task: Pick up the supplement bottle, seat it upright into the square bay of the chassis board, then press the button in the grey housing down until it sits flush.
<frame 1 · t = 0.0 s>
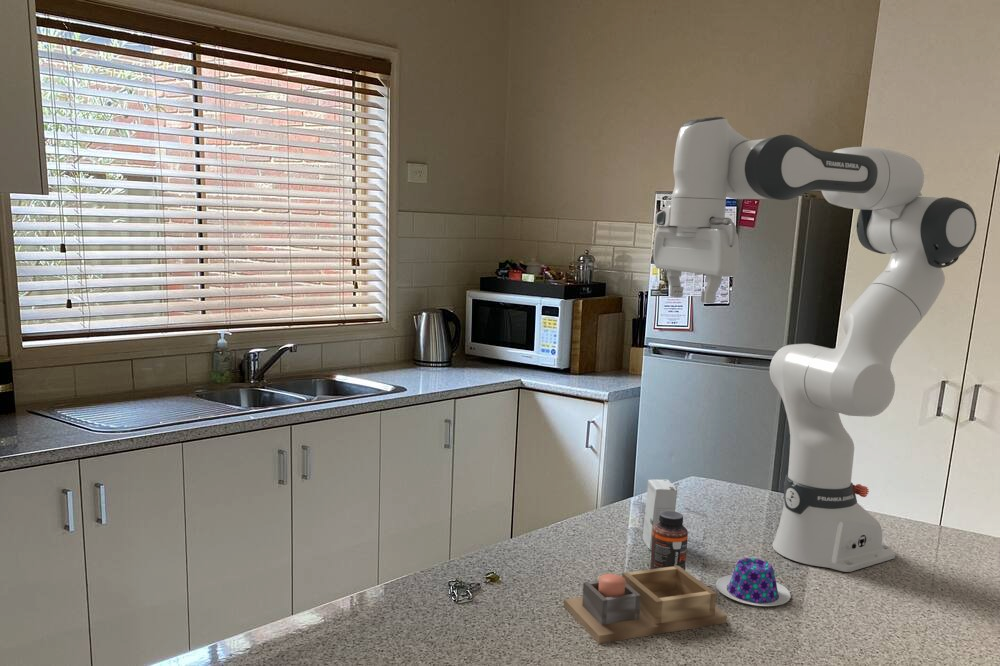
hand: (691, 299, 139), 48 cm above the countertop, tool pointing down, fingers open, 8 cm apart
pudding: (752, 594, 139), on the countertop
supplement bottle: (666, 578, 143), on the countertop
skincare box: (657, 546, 157), on the countertop
button: (611, 589, 126), point 5 cm above the countertop, slide at 0.0 cm
chassis: (644, 614, 129), on the countertop
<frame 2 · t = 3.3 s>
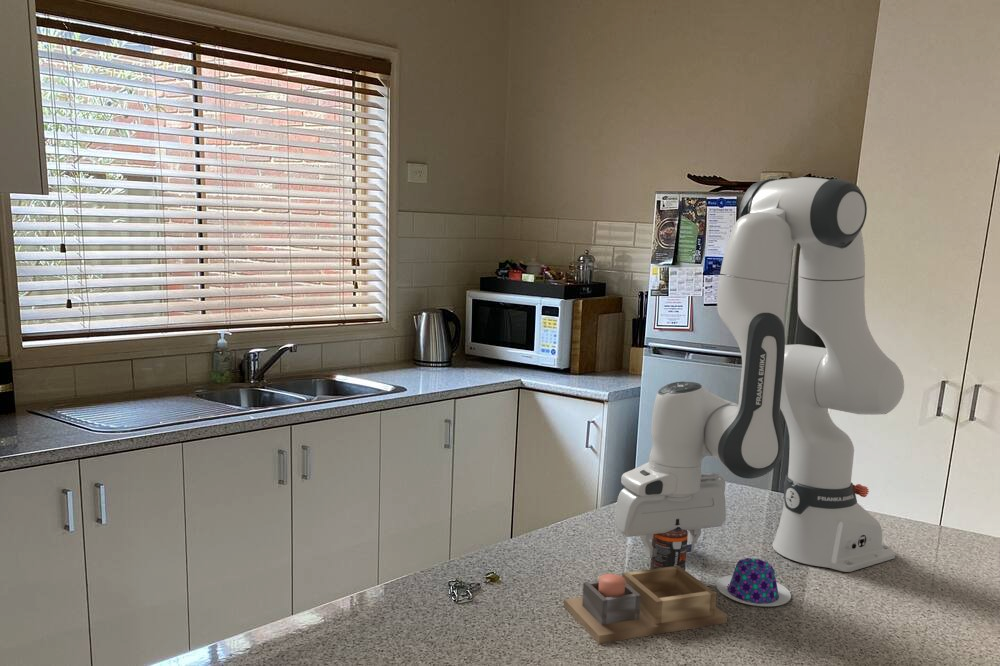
hand: (668, 554, 142), 4 cm above the countertop, tool pointing down, fingers closed on supplement bottle, 6 cm apart
supplement bottle: (666, 578, 143), on the countertop, touching gripper
everything else where it was.
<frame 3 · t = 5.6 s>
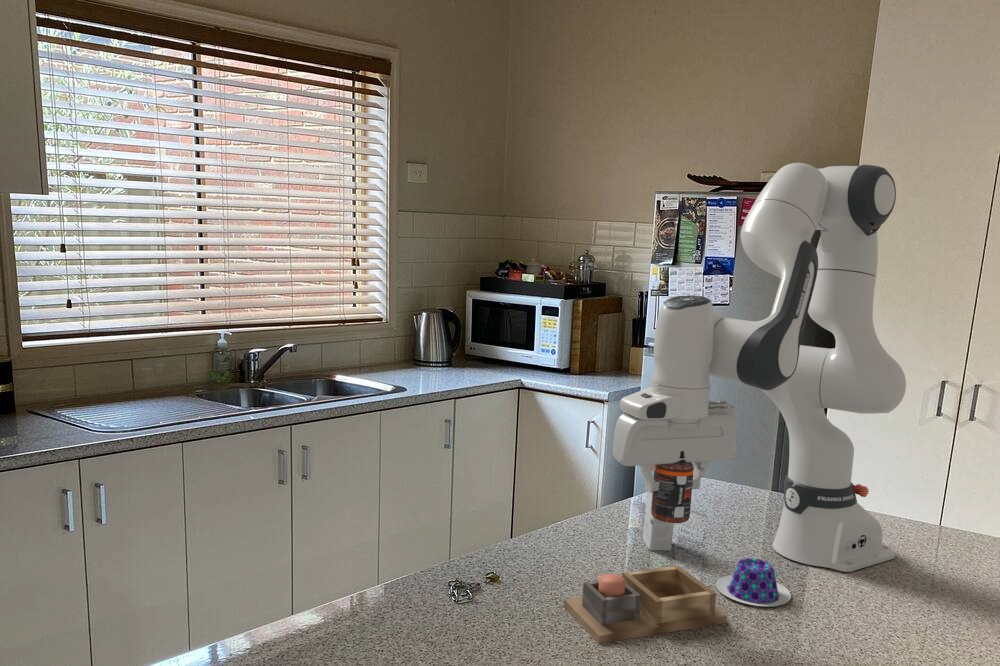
hand: (672, 489, 128), 20 cm above the countertop, tool pointing down, fingers closed on supplement bottle, 6 cm apart
supplement bottle: (669, 519, 129), point 15 cm above the countertop, touching gripper
everything else where it was.
when the fingers open (7 cm above the countertop, at t = 8.1 s): supplement bottle stays where it is, resting on chassis.
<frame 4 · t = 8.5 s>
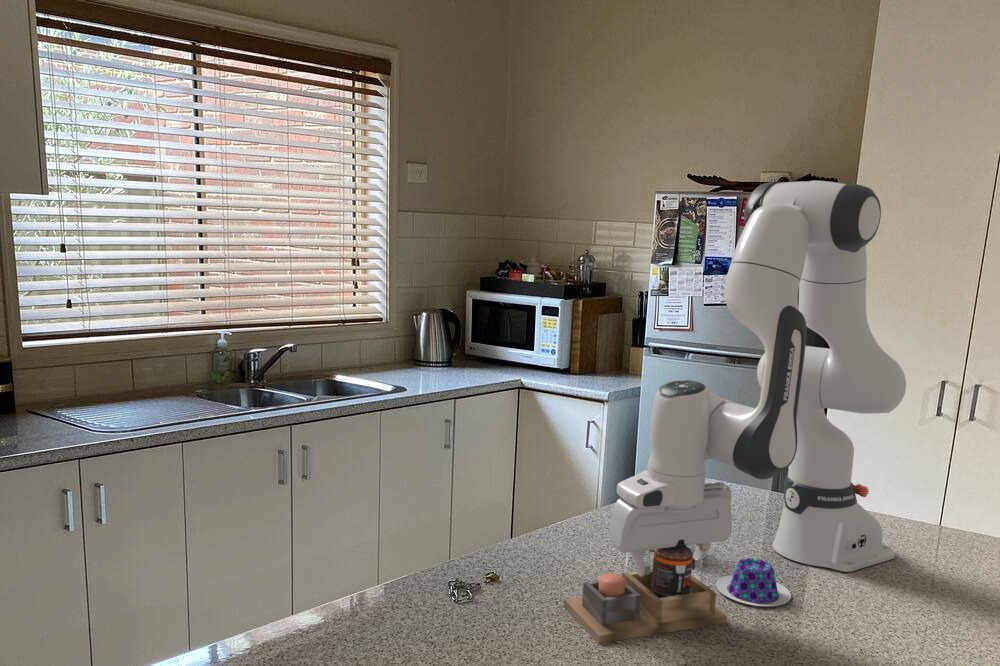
hand: (669, 571, 130), 7 cm above the countertop, tool pointing down, fingers open, 8 cm apart
supplement bottle: (669, 604, 130), point 1 cm above the countertop, touching chassis
everything else where it was.
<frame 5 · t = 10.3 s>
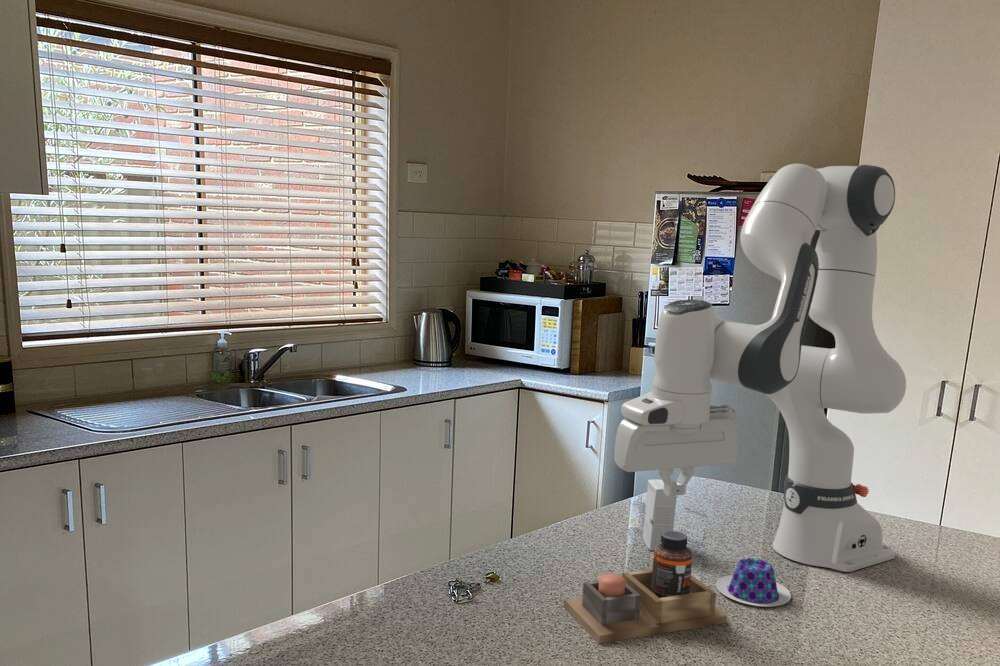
hand: (674, 494, 128), 19 cm above the countertop, tool pointing down, fingers closed
nothing on the countertop moved.
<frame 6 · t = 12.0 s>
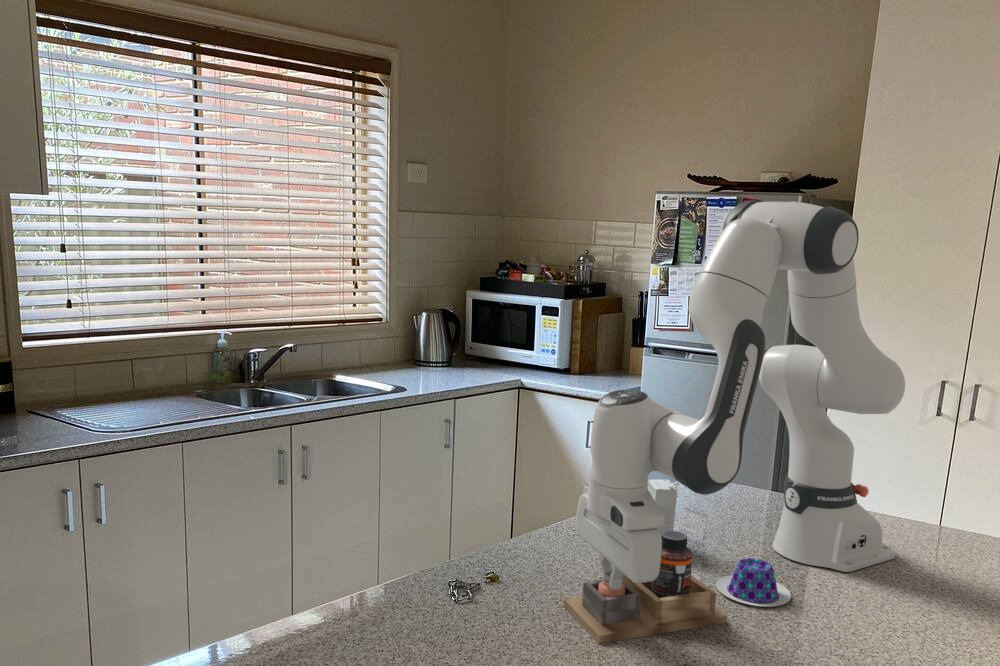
hand: (611, 586, 126), 6 cm above the countertop, tool pointing down, fingers closed, pressing on button
button: (611, 596, 126), point 4 cm above the countertop, slide at 1.0 cm, touching gripper
everything else where it was.
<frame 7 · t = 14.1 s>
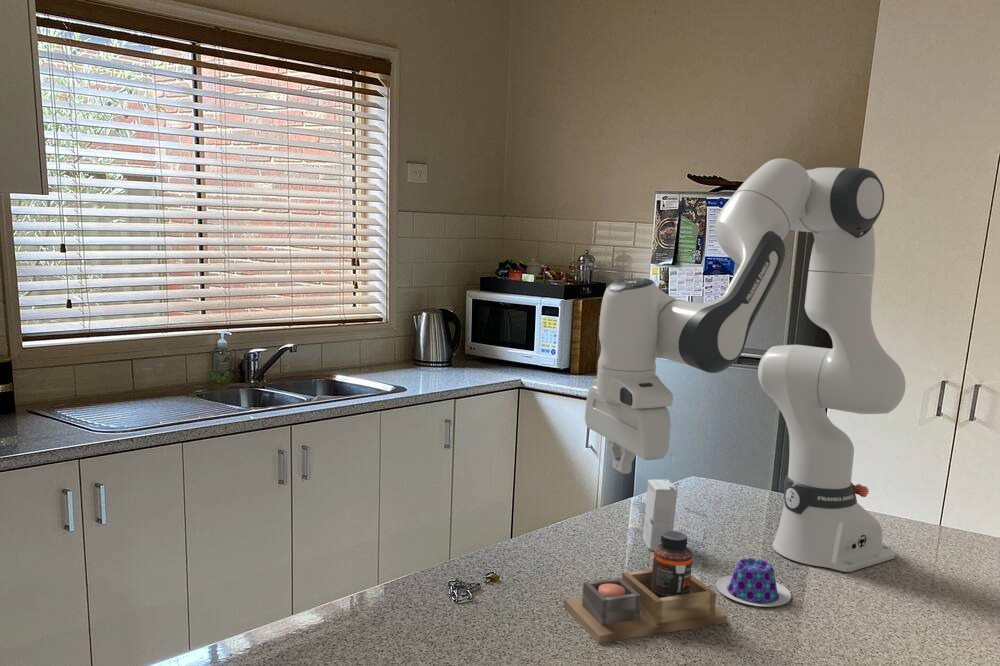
hand: (621, 470, 129), 22 cm above the countertop, tool pointing down, fingers closed
button: (611, 599, 126), point 3 cm above the countertop, slide at 1.6 cm
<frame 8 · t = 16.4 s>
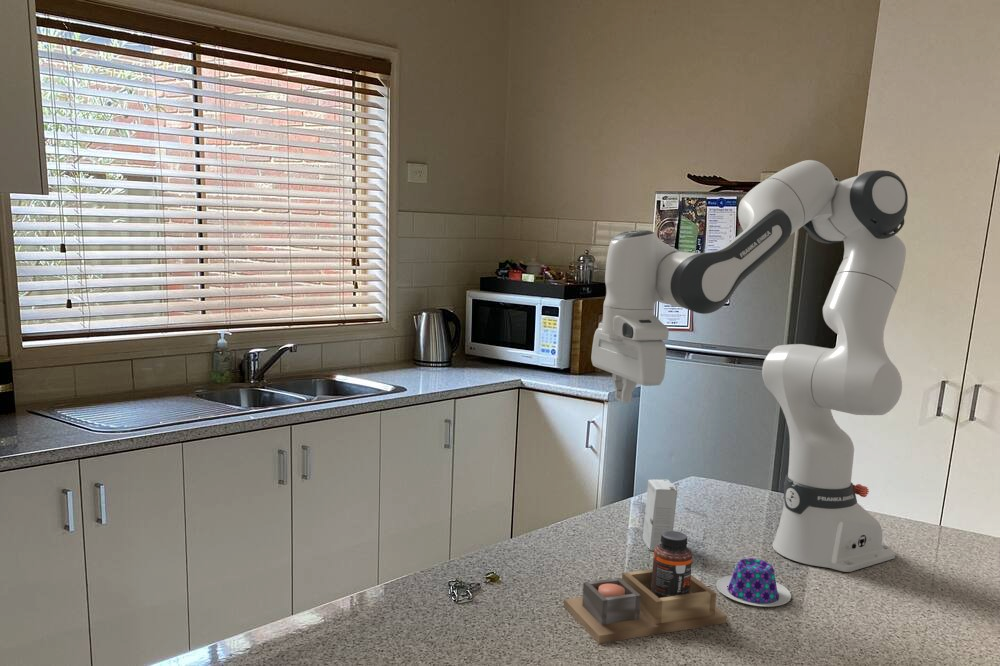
hand: (623, 401, 147), 29 cm above the countertop, tool pointing down, fingers closed
at the end: supplement bottle 0.5 cm from the target spot on the chassis, point 1.0 cm above the chassis's base; supplement bottle tilted 0°; button slide at 1.6 cm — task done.
